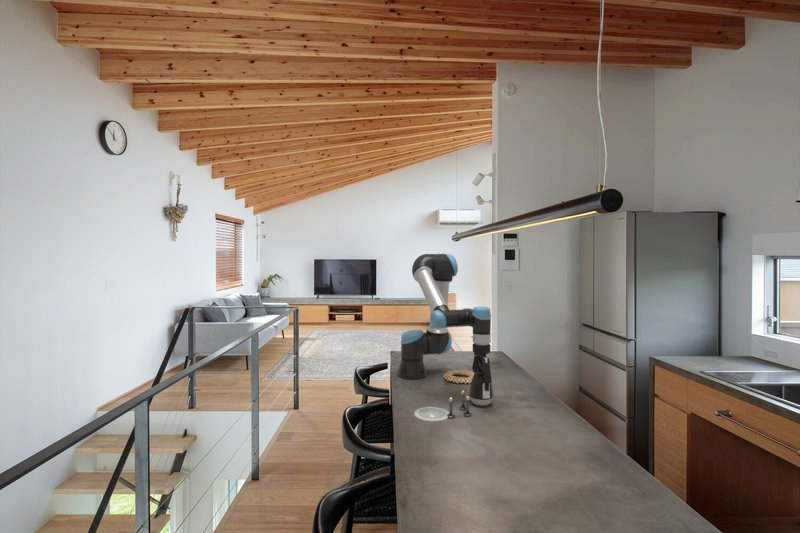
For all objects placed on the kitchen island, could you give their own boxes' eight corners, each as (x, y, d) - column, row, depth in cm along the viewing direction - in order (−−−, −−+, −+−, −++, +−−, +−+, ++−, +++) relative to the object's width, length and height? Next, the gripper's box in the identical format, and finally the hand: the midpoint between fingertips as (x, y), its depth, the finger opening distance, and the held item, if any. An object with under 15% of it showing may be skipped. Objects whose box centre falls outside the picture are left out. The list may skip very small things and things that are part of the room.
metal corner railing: (442, 408, 176) (442, 389, 176) (466, 407, 177) (466, 388, 177) (447, 418, 165) (447, 398, 165) (473, 417, 166) (473, 398, 166)
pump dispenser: (465, 405, 179) (465, 370, 179) (473, 398, 188) (473, 364, 188) (489, 410, 174) (489, 373, 174) (496, 402, 184) (496, 367, 183)
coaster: (412, 408, 175) (412, 407, 175) (445, 407, 177) (445, 406, 177) (417, 422, 161) (417, 420, 161) (453, 420, 163) (453, 419, 163)
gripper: (465, 338, 193) (465, 384, 193) (481, 349, 168) (481, 403, 168) (481, 337, 193) (481, 384, 194) (499, 349, 168) (499, 402, 169)
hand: (481, 393), depth 181 cm, fingers open, 13 cm apart
